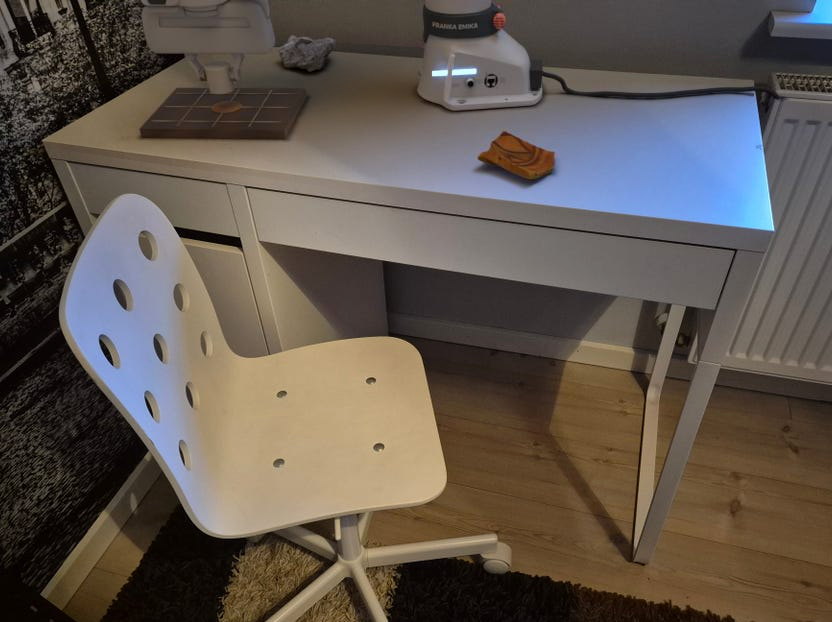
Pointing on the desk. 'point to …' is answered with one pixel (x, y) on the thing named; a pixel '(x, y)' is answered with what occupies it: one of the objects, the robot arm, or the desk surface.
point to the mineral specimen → (306, 52)
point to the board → (226, 114)
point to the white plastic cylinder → (218, 77)
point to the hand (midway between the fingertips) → (219, 80)
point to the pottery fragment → (518, 156)
